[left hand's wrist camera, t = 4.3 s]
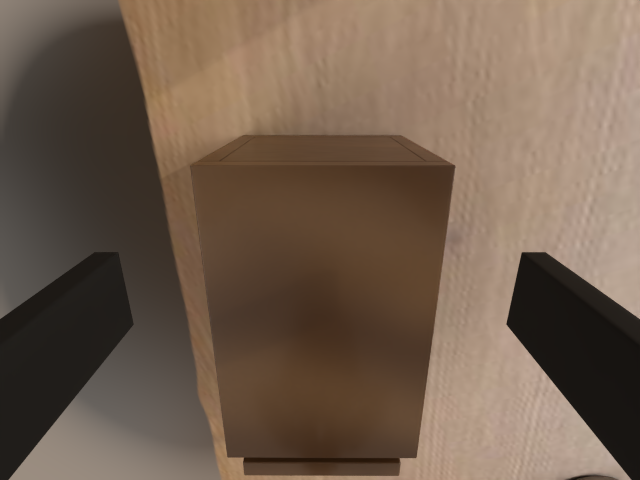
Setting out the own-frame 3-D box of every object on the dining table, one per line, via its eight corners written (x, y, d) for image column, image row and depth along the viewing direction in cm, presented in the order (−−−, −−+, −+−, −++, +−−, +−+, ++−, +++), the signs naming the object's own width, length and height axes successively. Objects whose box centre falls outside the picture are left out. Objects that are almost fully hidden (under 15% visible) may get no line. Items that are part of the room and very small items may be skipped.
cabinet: (385, 339, 33) (416, 458, 22) (257, 339, 33) (227, 457, 22) (401, 135, 26) (456, 165, 16) (242, 135, 27) (189, 165, 16)
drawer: (375, 422, 35) (393, 533, 26) (267, 421, 35) (250, 532, 26) (391, 196, 27) (425, 247, 18) (252, 196, 27) (219, 247, 18)
